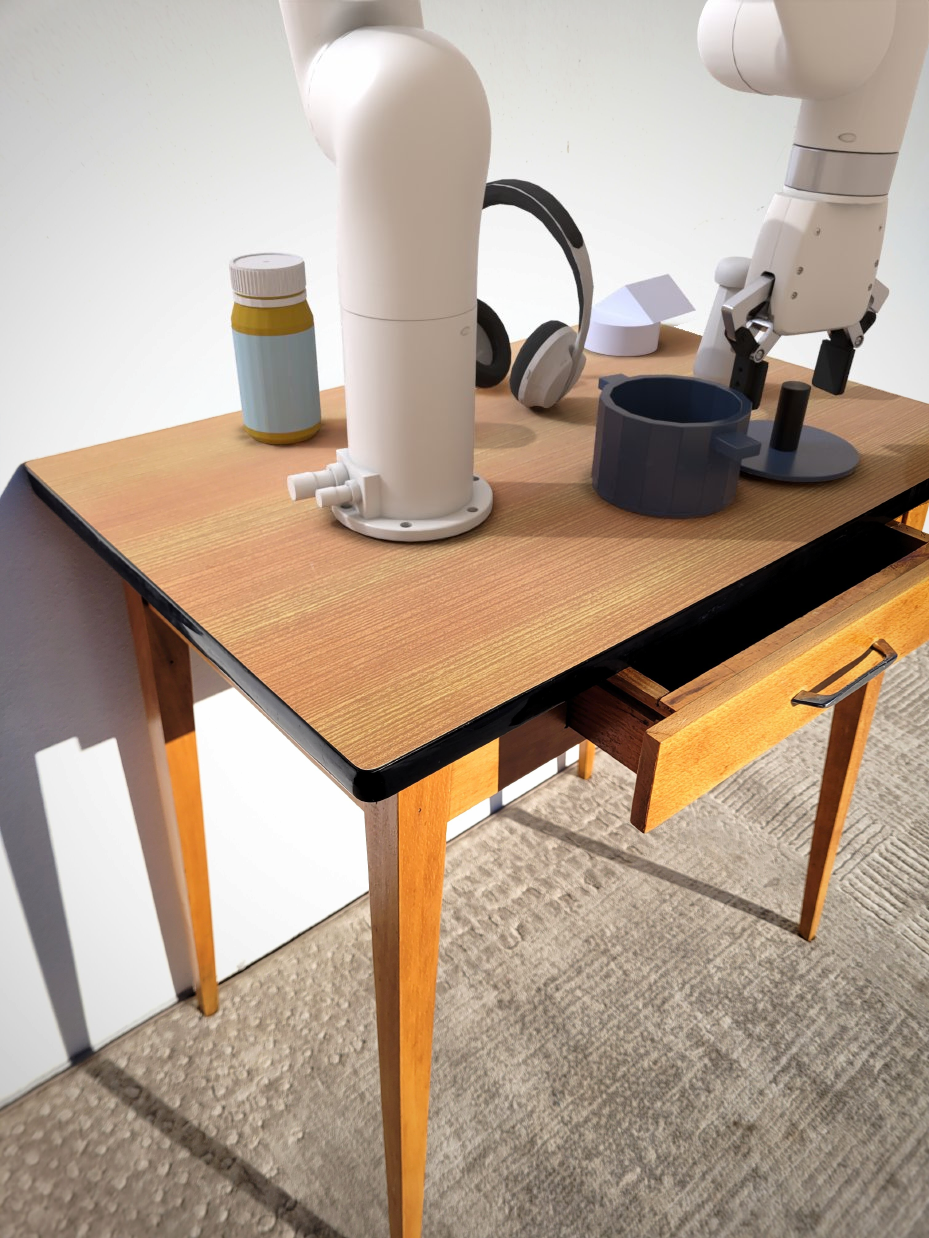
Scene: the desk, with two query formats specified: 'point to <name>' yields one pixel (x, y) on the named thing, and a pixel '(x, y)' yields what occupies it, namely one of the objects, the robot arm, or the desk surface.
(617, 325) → the wedge on round base
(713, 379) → the salt shaker
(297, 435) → the bottle
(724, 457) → the pot
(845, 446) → the lid
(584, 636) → the desk surface
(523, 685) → the desk surface
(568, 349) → the headphones
